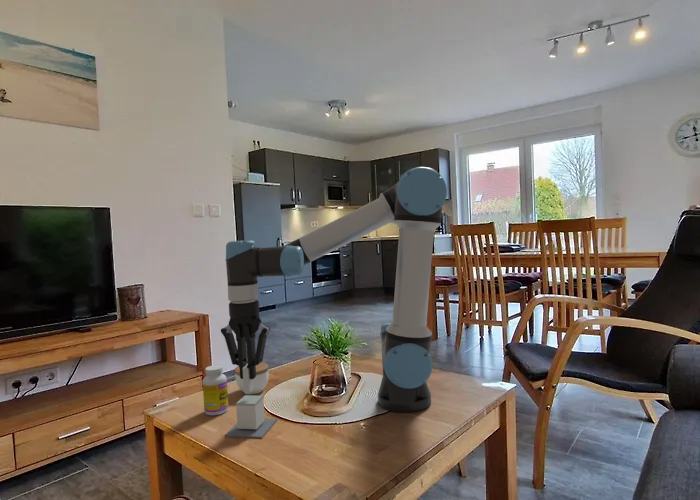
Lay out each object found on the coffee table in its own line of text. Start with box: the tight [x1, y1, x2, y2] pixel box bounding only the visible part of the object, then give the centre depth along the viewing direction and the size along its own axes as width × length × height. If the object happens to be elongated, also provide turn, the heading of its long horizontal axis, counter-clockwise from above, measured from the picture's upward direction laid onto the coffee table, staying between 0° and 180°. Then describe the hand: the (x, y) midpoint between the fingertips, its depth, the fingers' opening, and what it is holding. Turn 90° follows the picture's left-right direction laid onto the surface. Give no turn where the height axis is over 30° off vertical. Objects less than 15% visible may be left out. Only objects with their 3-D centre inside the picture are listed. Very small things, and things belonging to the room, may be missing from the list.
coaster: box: [224, 418, 278, 439], centre depth 112 cm, size 10×10×1 cm
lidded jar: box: [234, 361, 270, 395], centre depth 139 cm, size 11×11×9 cm
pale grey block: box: [235, 394, 266, 429], centre depth 112 cm, size 5×5×7 cm
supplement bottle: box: [202, 364, 229, 416], centre depth 124 cm, size 7×7×13 cm
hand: (248, 390), depth 112 cm, fingers closed
